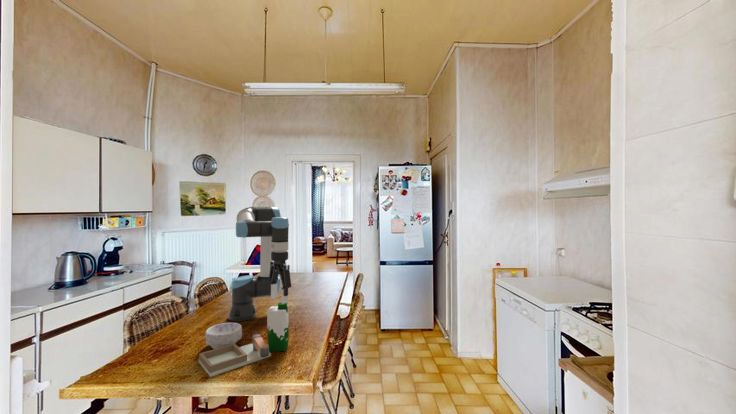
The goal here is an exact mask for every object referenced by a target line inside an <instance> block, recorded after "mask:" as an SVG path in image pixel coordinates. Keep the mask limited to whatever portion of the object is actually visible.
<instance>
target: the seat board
mask: <svg viewBox="0 0 736 414" xmlns="http://www.w3.org/2000/svg"><path fill="white" fill-rule="evenodd" d="M269 357H272V353H271V352H269V356H268V357H261V356H260V354H259V353H258V351H257V349H256V348H255V346H254V344H252V343H249V344H245V345H242V346H238V345H237V343H236V344H231V345H227V346H224V347H220V348H217V349H211V350H207V351H203V352H200V353H199V355H198V363H199V365H200V366H201V367H202V368H203V370H204V372H206V374H208V377H210V378H211V377H214V376H216V375H219V373H220V374H222V373H225V372H228V371H231V370H233V369H234V370H235V369H238V368H240V367H243V366H246V365H248V364H252V363H254V362H258V361H261V360H263V359H266V358H269Z"/></svg>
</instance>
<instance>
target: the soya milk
mask: <svg viewBox="0 0 736 414" xmlns="http://www.w3.org/2000/svg"><path fill="white" fill-rule="evenodd" d="M266 319H267V320H266V326H267V330H266V331H267V343H268V344H267V346H268V347H269V352H270V353H271V352H272V353H274V352H276V353H277V352H286V351H287V348H288V346H289V337H290V326H289V305H288V303H284V304H282V301H281V302H279V303H277V305H275V306H273V305H272V306H270V307H269V308H268V310H267V312H266Z"/></svg>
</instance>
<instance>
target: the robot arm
mask: <svg viewBox="0 0 736 414" xmlns="http://www.w3.org/2000/svg"><path fill="white" fill-rule="evenodd" d="M235 218H236V223H235V237H236V238H243V239H244V238H260V259H259V264H260V267H259V272H258V273H257V277H254V275H251V274H250V275H249V274H248V275H243V276H238V277H236V278H234V279H233V280H232V283H231V284H232V285H231V307H230V309H229V312H228V314H227V315H228V317H227V318H228V320H229V321H231V322H243V321H248V320H253V319H254V318H256V317H257V310H256V307H255V305H254V299H258V298H267V297H270V299H271V300H273V299H277V298H278V294H279V292H280V287H281V285H282V287H281V302H282V304H284V303H287V304H288V303H289V288H292V280H291V273H290V267H291V266H290V264H287V260H288V259H289V230H290V229H289V228H290V227H289V226H290V223H289V218H288V217H283V216H282V215H281V212H280V209H279V208H278V207H277V206H248V207H245V208H243V209H241V210H240V211H238V213H237V214H236V217H235Z"/></svg>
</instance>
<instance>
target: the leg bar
mask: <svg viewBox="0 0 736 414" xmlns="http://www.w3.org/2000/svg"><path fill="white" fill-rule="evenodd" d="M251 338H252V339H251V340H252V343H251V344H254V346H255V348H256V349H257V351H258V353H259V354H260V356H261V357H267V358H269V357H268V356H269V346H268V344H267V343H266V341H265V340H264V339H263V337H262V335H261V334H260V333H258V334H257V333H256V334H253V335H252V337H251Z"/></svg>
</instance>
